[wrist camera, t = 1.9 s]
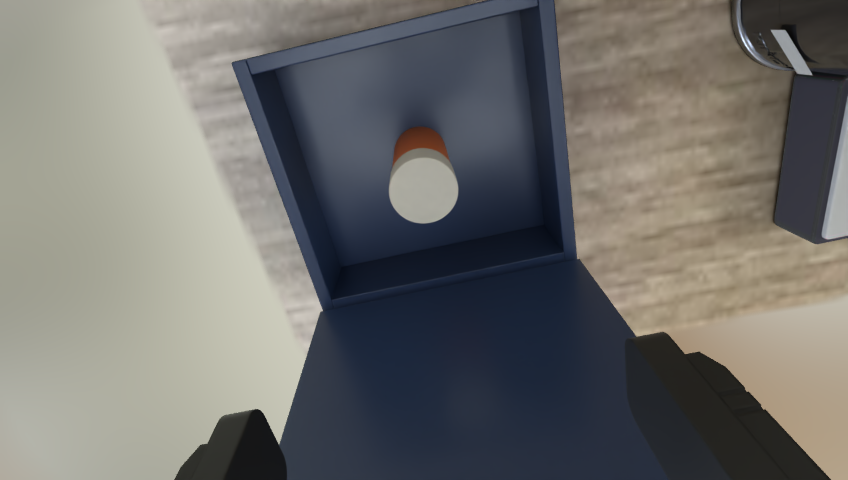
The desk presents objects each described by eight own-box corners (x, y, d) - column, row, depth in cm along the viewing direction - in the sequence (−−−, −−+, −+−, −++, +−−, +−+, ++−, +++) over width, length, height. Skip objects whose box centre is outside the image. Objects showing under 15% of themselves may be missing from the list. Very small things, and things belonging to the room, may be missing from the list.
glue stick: (409, 115, 29) (410, 144, 22) (456, 142, 30) (471, 178, 23) (384, 162, 31) (376, 204, 23) (429, 187, 31) (436, 235, 24)
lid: (230, 600, 15) (287, 683, 17) (766, 511, 14) (751, 613, 16) (320, 311, 30) (344, 375, 32) (579, 258, 28) (585, 328, 31)
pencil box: (260, 56, 28) (230, 62, 24) (527, -9, 27) (553, -16, 23) (335, 273, 35) (323, 312, 30) (553, 227, 34) (577, 260, 29)
